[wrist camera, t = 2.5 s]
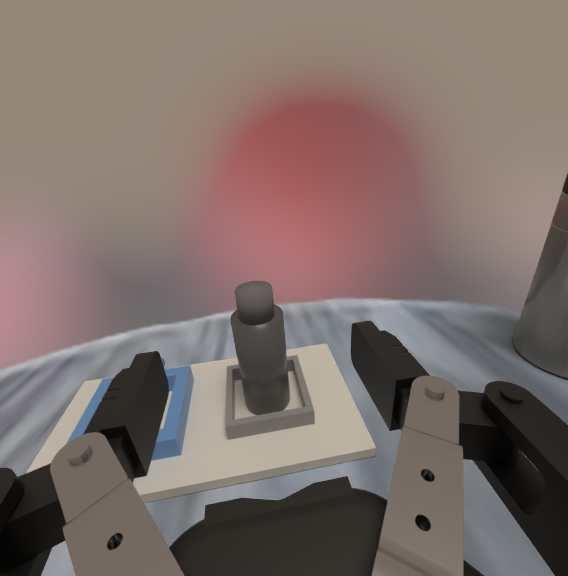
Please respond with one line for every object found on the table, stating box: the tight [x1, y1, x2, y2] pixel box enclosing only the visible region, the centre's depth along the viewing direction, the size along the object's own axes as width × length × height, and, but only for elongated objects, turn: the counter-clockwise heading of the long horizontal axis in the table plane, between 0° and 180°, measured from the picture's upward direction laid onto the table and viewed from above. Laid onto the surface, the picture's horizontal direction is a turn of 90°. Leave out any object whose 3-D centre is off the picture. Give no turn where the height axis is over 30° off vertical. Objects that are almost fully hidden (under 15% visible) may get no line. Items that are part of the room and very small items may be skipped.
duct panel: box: [26, 343, 376, 503], centre depth 28 cm, size 28×14×3 cm, turn 99°
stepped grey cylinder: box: [231, 281, 290, 415], centre depth 26 cm, size 4×4×12 cm
